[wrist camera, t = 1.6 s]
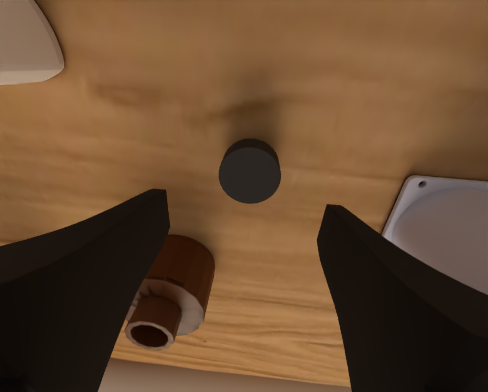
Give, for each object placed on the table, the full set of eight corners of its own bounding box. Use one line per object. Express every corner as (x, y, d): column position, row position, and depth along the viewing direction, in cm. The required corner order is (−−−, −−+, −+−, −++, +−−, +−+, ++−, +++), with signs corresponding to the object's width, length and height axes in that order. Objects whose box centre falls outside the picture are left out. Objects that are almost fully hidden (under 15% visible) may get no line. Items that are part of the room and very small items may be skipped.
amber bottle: (215, 238, 21) (195, 311, 15) (214, 290, 24) (198, 367, 18) (139, 231, 21) (88, 300, 15) (149, 283, 24) (111, 357, 18)
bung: (281, 135, 16) (285, 149, 13) (274, 185, 18) (276, 206, 15) (225, 131, 16) (219, 144, 14) (224, 181, 18) (218, 201, 15)
